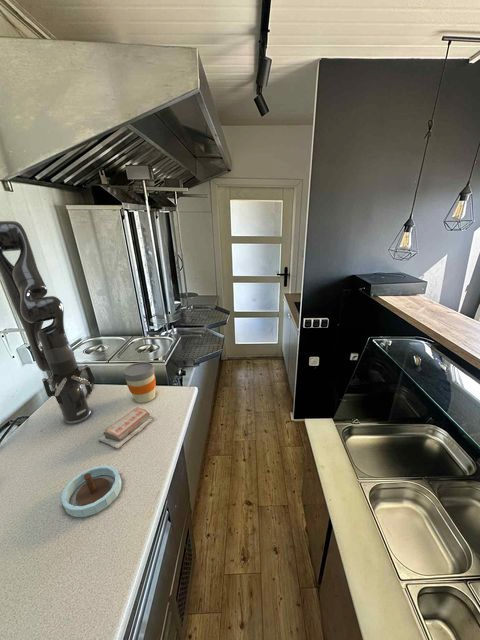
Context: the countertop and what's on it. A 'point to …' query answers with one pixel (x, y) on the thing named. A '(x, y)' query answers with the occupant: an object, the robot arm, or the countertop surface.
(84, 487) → the ring stand
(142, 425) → the packaged product
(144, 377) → the reusable coffee cup
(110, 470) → the ring
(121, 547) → the countertop surface
